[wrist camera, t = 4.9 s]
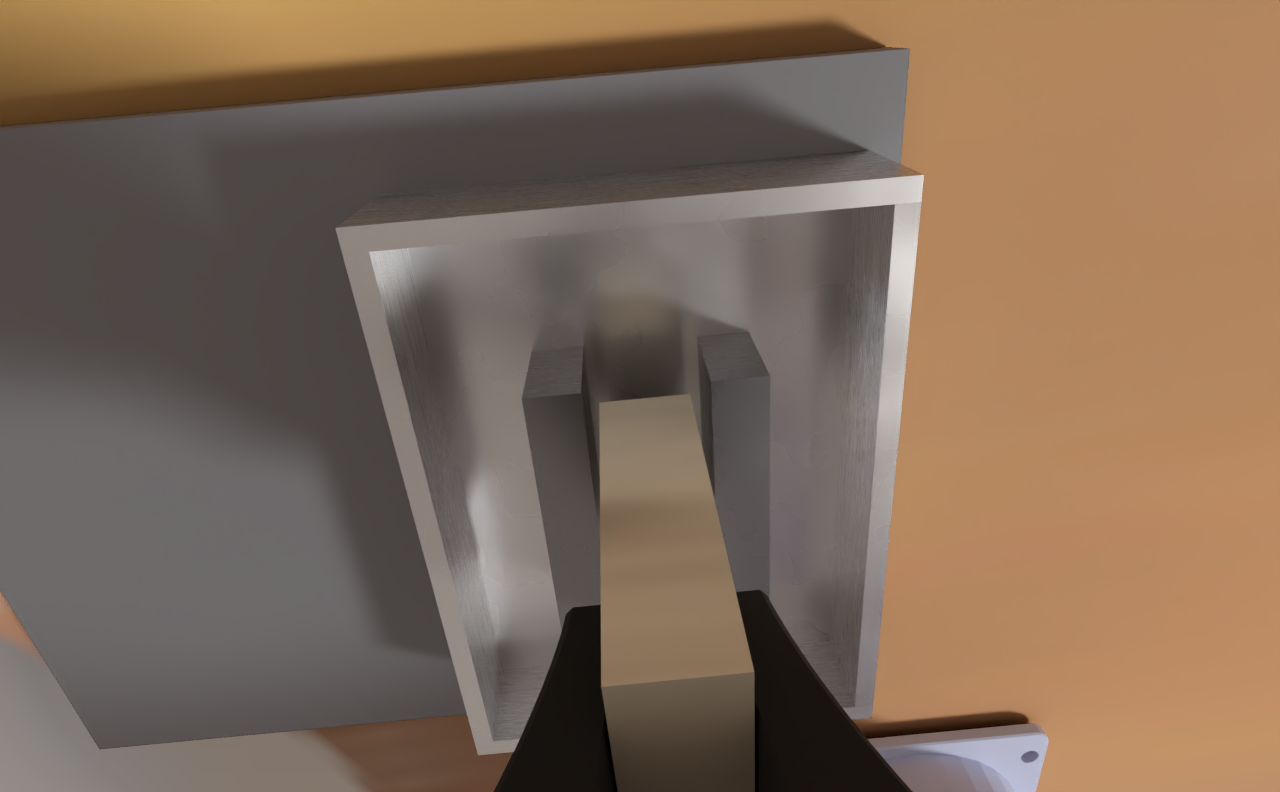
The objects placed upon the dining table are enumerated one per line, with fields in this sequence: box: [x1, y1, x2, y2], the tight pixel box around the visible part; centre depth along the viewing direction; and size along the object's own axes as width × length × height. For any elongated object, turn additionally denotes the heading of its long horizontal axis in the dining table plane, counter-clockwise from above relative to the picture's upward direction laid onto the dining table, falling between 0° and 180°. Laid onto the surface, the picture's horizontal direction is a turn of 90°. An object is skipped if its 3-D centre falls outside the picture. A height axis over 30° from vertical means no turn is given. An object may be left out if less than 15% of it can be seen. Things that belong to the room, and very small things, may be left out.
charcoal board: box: [0, 47, 910, 749], centre depth 16 cm, size 15×20×1 cm
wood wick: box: [599, 394, 755, 792], centre depth 11 cm, size 4×2×6 cm, turn 5°
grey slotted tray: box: [335, 150, 924, 755], centre depth 15 cm, size 12×9×2 cm
